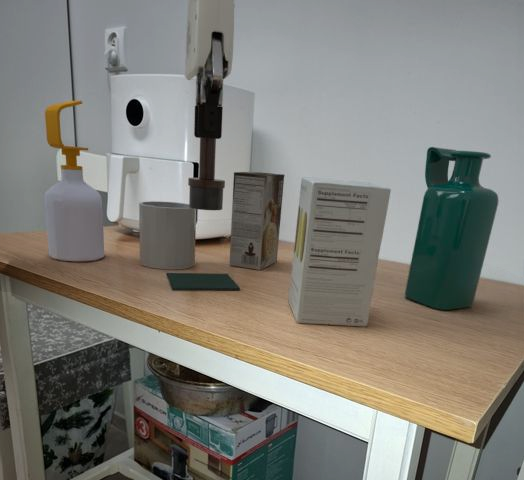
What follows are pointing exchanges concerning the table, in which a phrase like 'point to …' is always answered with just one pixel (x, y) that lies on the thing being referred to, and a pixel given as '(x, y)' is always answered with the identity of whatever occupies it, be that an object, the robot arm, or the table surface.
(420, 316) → the table surface
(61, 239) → the soap bottle
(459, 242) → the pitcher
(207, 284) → the mat
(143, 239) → the tumbler
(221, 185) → the brush
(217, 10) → the robot arm
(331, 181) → the supplement box
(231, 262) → the coffee box
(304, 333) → the table surface
